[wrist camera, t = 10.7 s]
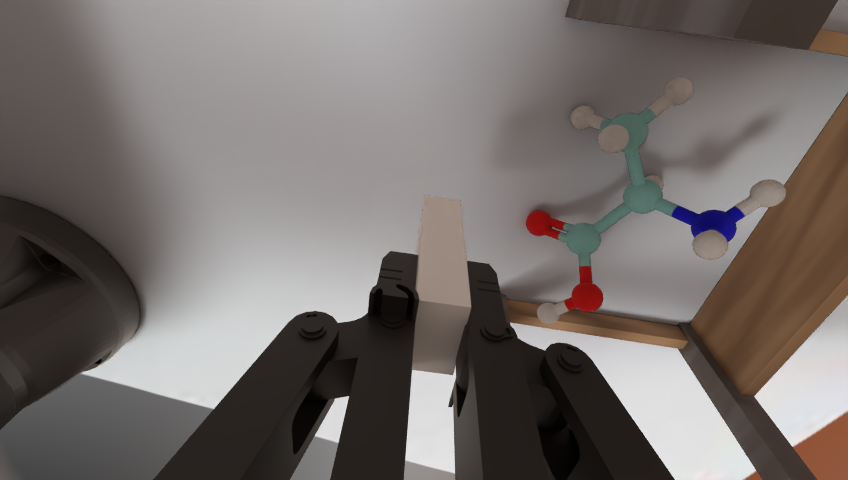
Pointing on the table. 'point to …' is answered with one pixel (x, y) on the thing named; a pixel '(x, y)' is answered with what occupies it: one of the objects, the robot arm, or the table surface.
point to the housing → (765, 248)
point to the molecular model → (641, 200)
